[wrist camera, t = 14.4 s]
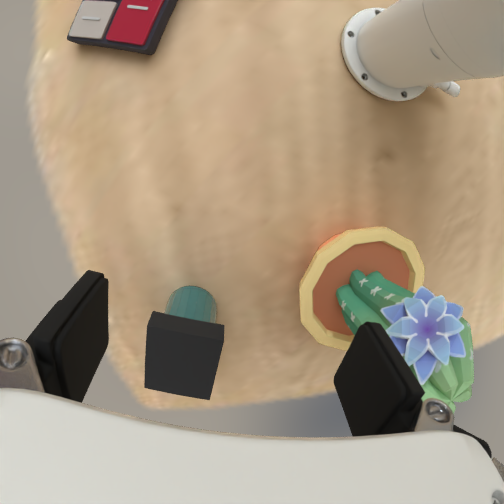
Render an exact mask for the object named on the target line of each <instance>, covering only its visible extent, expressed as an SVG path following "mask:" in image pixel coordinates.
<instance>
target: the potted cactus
mask: <svg viewBox="0 0 504 504" xmlns="http://www.w3.org/2000/svg"><path fill="white" fill-rule="evenodd" d="M424 273H425V267H424V265H423V263H422V260H421V258H420V256H419V253H418V251H417V249H416V247H415V244H414V242H412V241H410V240H409V239H407V238H405V237H403V236H401V235H399V234H398V233H396V232H394V231H392V230H390V229H388V228H386V227H381V226H379V227H370V228H362V229H353V230H346V231H345V232H344V233H342V234H337V235H334V236H333V237H331V238H330V239H329V240H327V241H326V242H324V243H323V244H322V245H320V246H319V248H318V250H317V252H316V253H315V255H314V257H313V259H312V261H311V263H310V265H309V267H308V269H307V270H306V272H305V274H304V276H303V278H302V280H301V282H300V284H299V295H300V316H301V323H302V324H303V325H304V326H305V328H306V329H307V330H308V331H309V332H310V334H311V335H312V336H313V337H314V338H315V340H316V341H317V342H318V343H319V344H322V345H326V346H329V347H333V348H337V349H341V350H344V351H347V350H348V348H349V346H350V344H351V342H352V340H353V338H354V336H355V334H356V332H357V330H358V328H359V326H360V325H363V324H364V323H365V322H367V321H368V322H376V323H380V324H381V325H382V327H383V328H384V329H385V331H386V332H387V334H388V335H389V337H390V338H391V340H392V341H393V343H394V344H395V346H396V347H397V349H398V350H399V352H400V354H401V355H402V357H403V358H404V360H405V361H406V363H407V364H408V366H409V367H410V369H411V371H412V372H413V374H414V375H415V377H416V378H417V380H418V382H419V383H420V385H421V386H422V388H423V390H424V391H425V394H424V395H423V397H422V398H421V399H422V401H423V402H424V400H426V399H428V398H436V399H439V400H441V401H443V402H444V403H446V404H447V405H448V406H449V407H450V408H451V410H452V412H453V414H454V411H455V409H456V407H455V405H454V402H453V401H455V402H463V401H467V400H469V399H470V397H471V396H472V389H471V384H472V383H474V369H473V368H474V367H473V345H472V336H471V328H470V325H469V323H468V322H467V321H466V320H465V319H463V318H462V317H461V316H462V313H463V307H462V306H460V305H457V304H455V303H451V302H446V300H445V298H444V296H442V295H440V296H437V297H436V296H435V295H434V294H433V293H432V292H431V291H430V290H428V289H427V288H425V287H424V286H423V280H424Z"/></svg>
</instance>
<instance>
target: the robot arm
mask: <svg viewBox="0 0 504 504" xmlns="http://www.w3.org/2000/svg"><path fill="white" fill-rule="evenodd" d="M348 35H350V37H349V36H348ZM341 47H342V54H343V57H344V60H345V63H346V65H347V67H348V69H349V71H350V72H351V74H352V75H353V76H354V78H355V79H356V80H357V81H358V82H359V83H360V84H361V85H362V86H363V87H364V88H365V89H366V90H368V91H369V92H370V93H372V94H374V95H376V96H378V97H379V98H382V99H386V100H389V101H406V100H411V99H413V98H415V97H418V96H419V95H420V94H421V93H423V92H424V91H425V89H426V88H427V87H428V86H431V87H433V88H440V89H442V90H443V91H444V92H446V93H447V94H449V95H451V96H452V97H457V96H458V95H459V93H460V86H459V85H458V84H456V83H455V82H453V81H459V80H469V79H480V78H495V77H501V76H504V0H399V1H397V2H396V3H394V4H393V5H391V6H390V7H388V8H387V9H384V8H369V9H365V10H362V11H360V12H358V13H357V14H355V15H354V16H353V17H352V18H351V19H350V20H349V21H348V22H347V24H346V26H345V27H344V30H343V33H342V39H341ZM362 76H363V78H364V79H362ZM401 94H402V95H401ZM108 341H109V334H108V279H106V278H104V274H103V273H99V272H95V271H90V270H88V271H87V272H86V273H85V274H84V275H83V276H82V277H81V278H80V279H79V281H78V282H77V283H76V284H75V285H74V286H73V287H72V289H71V290H70V291H69V292H68V293H67V294H66V295H65V297H64V298H63V299H62V300H59V301H58V302H57V303H56V304H55V305H54V307H53V308H52V309H51V310H50V311H49V312H48V314H47V315H46V316H45V317H44V318H43V320H42V321H41V322H40V323H39V325H38V326H37V327H36V328H35V330H34V331H33V332H32V333H31V335H30V336H29V337H28V338H27V340H26V341H24V340H22V339H18V338H6V339H3V340H0V504H504V465H503V464H502V463H500V462H499V461H498V460H497V459H496V458H493V459H492V460H491V450H490V448H489V446H488V444H487V443H486V442H485V441H484V440H481V439H479V438H478V437H476V436H474V435H472V434H470V433H468V432H466V431H464V430H463V429H461V428H459V427H457V426H455V425H453V424H454V414H453V412H452V410H451V408H450V407H449V406H448V405H447V404H446V403H444V402H443V401H441V400H439V399H436V398H428V399H426V400H424V402H423V401H422V399H421V398H422V397H423V395H424V394H425V391H424V390H423V388H422V386H421V385H420V383H419V382H418V380H417V378H416V377H415V375H414V374H413V372H412V371H411V369H410V367H409V366H408V364H407V363H406V361H405V360H404V358H403V357H402V355H401V354H400V352H399V350H398V349H397V347H396V346H395V344H394V343H393V341H392V340H391V338H390V337H389V335H388V334H387V332H386V331H385V329H384V328H383V327H382V325H381V324H380V323H376V322H368V321H367V322H365V323H364V324H363V325H360V326H359V328H358V330H357V332H356V334H355V336H354V338H353V340H352V342H351V344H350V346H349V348H348V350H347V352H346V354H345V356H344V358H343V360H342V362H341V364H340V366H339V368H338V370H337V372H336V374H335V376H334V385H335V388H336V390H337V393H338V396H339V399H340V402H341V404H342V407H343V410H344V412H345V416H346V418H347V421H348V424H349V427H350V430H351V433H352V435H353V437H323V438H310V437H307V438H306V437H274V436H258V435H246V434H234V433H226V432H218V431H217V432H216V431H209V430H202V429H195V428H189V427H183V426H177V425H172V424H166V423H161V422H156V421H151V420H147V419H142V418H138V417H134V416H130V415H125V414H120V413H117V412H113V411H109V410H105V409H102V408H98V407H94V406H91V405H88V404H84V403H82V401H83V399H84V396H85V394H86V392H87V389H88V387H89V385H90V383H91V381H92V379H93V376H94V374H95V372H96V370H97V368H98V366H99V363H100V361H101V359H102V357H103V355H104V353H105V351H106V349H107V346H108Z"/></svg>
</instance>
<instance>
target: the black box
mask: <svg viewBox="0 0 504 504" xmlns="http://www.w3.org/2000/svg"><path fill="white" fill-rule="evenodd" d="M223 343H224V325H221V324H216V323H210V322H205V321H199V320H194V319H189V318H184V317H179V316H174V315H169V314H165V313H160V312H155V311H153V312H152V314H151V317H150V320H149V322H148V325H147V337H146V356H145V388H148V389H153V390H157V391H162V392H167V393H172V394H177V395H182V396H188V397H194V398H200V399H206V400H210V396H211V392H212V388H213V384H214V380H215V375H216V371H217V367H218V363H219V359H220V355H221V351H222V347H223Z"/></svg>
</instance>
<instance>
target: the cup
mask: <svg viewBox="0 0 504 504" xmlns="http://www.w3.org/2000/svg"><path fill="white" fill-rule="evenodd" d="M164 313H165V314H169V315H174V316H179V317H184V318H189V319H194V320H199V321H205V322H210V323H216V315H217V306H216V302H215V300H214V298H213V297H212V295H211V294H210V293H209V292H207V291H206V290H204V289H202V288H200V287H196V286H185V287H181V288H179V289H177V290H176V291H174V292H173V293H172V295H171V296H170V298H169V301H168V303H167V306H166V309H165V312H164Z"/></svg>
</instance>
